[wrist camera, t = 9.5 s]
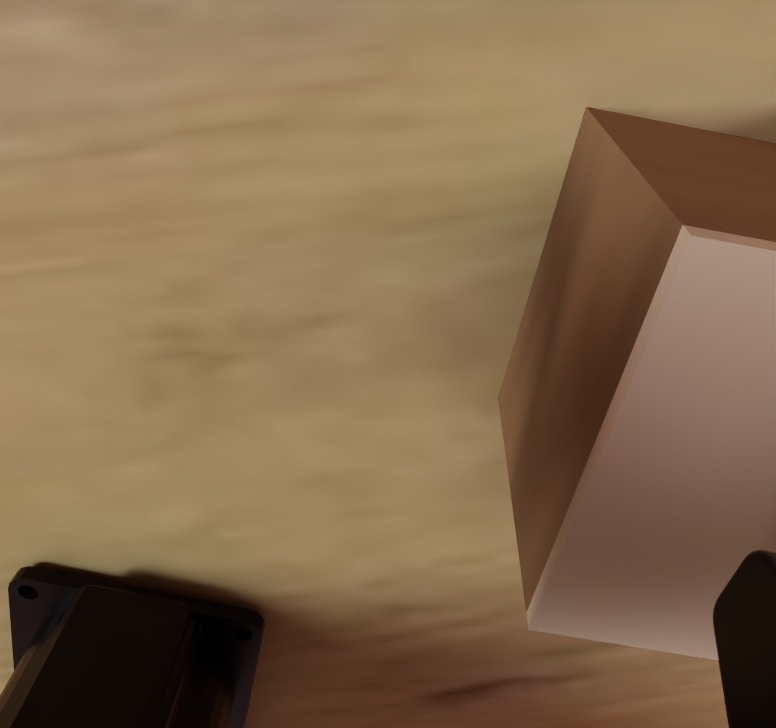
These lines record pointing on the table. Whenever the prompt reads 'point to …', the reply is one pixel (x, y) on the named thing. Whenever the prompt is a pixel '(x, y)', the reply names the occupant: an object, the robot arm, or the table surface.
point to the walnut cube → (646, 386)
